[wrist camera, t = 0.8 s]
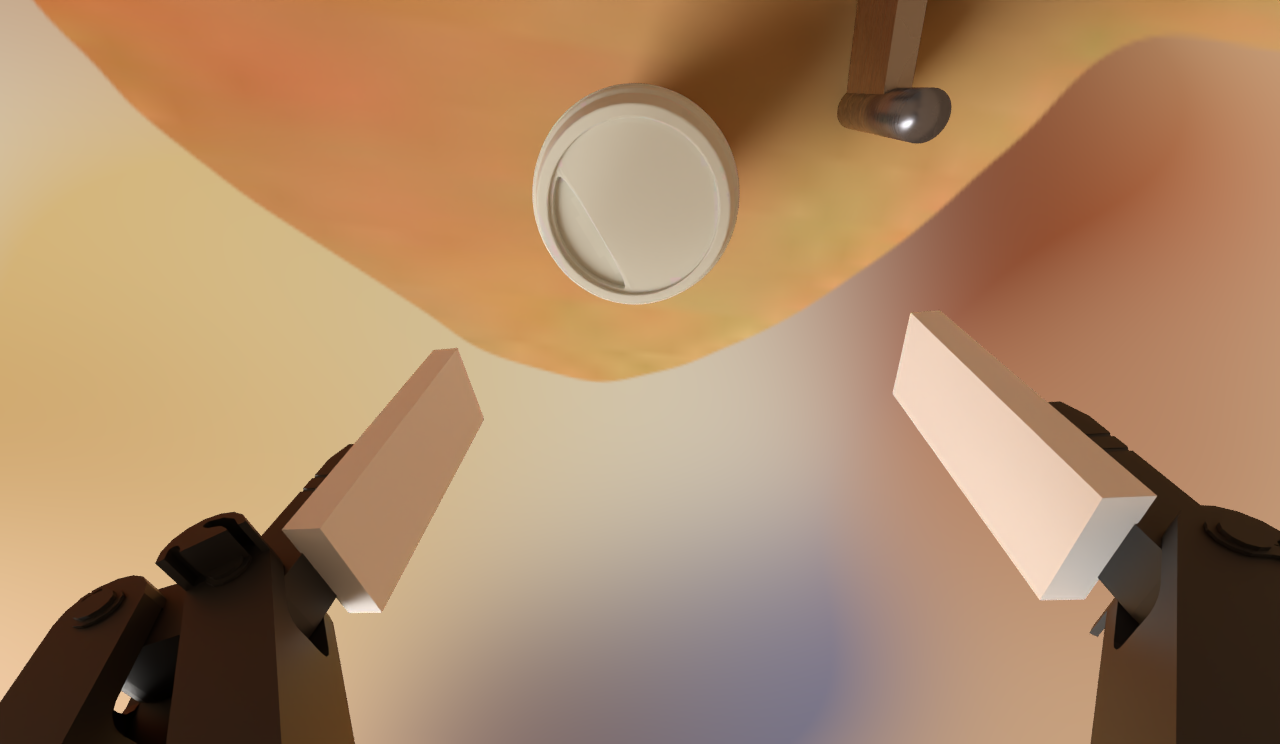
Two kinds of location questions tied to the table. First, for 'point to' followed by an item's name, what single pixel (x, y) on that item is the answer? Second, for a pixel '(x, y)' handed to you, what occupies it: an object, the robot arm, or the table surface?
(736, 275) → the table surface
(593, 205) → the coffee cup
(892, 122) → the rail
